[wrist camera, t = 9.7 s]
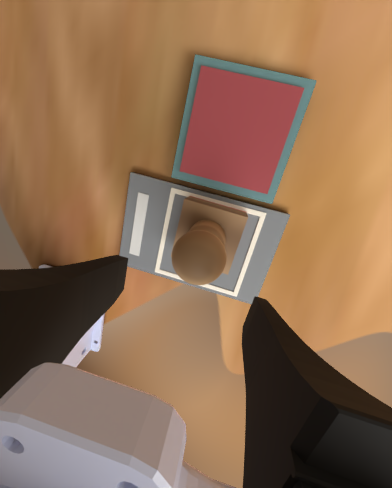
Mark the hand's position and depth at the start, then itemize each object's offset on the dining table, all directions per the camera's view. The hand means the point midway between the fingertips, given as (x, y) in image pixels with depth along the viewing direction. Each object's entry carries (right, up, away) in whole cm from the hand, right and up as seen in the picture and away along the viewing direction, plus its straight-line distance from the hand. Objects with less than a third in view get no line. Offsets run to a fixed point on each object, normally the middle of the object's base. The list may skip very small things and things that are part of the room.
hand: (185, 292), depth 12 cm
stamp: (+2, +4, +7) cm, 9 cm away
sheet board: (+1, +3, +9) cm, 9 cm away
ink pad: (+4, +11, +5) cm, 13 cm away
